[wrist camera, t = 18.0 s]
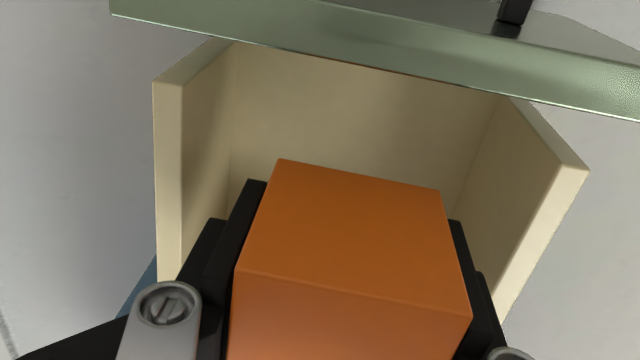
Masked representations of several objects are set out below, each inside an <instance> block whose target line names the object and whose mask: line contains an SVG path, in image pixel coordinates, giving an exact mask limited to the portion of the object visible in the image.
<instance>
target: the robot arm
mask: <svg viewBox="0 0 640 360" xmlns="http://www.w3.org/2000/svg"><path fill="white" fill-rule="evenodd" d="M266 187H267V182H265V181H260V180H255V179H250V178H248V179H247V181H246V183H245V185H244V187H243V189H242V191H241V193H240V195H239V197H238V199H237V202H236V204H235V206H234V208H233V210H232V212H231V214H230V216H229V218H228V220H223V219H218V218H213V217H211V218H209V219H208V221H207V222H206V224H205V226H204V228H203V230H202V231H201V233H200V235H199V237H198V239H197V241H196V242H195V244H194V246H193V248H192V250H191V252H190V253H189V255H188V257H187V259H186V261H185V263H184V264H183V266H182V268H181V270H180V272H179V274H178V275H177V277H176V279H175V280H169V281H161V282H158V283H154V284H152V285H150V286H148V287H146V288H144V289H143V290H142V291H141V292H140V293H139V294H138V295H137V296H136V298H135V300H134V302H133V303H132V307H131V310H130V313H129V314H127V315H124V316H122V317H119V318H117V319H114V320H112V321H109V322H106V323H104V324H101V325H99V326H96V327H94V328H91V329H89V330H86V331H83V332H81V333H78V334H76V335H73V336H71V337H68V338H66V339H63V340H60V341H58V342H55V343H53V344H50V345H48V346H45V347H43V348H40V349H38V350H35V351H32V352H30V353H27V354H25V355H23V356H21V357H20V358H18V359H16V360H225V359H226V349H227V339H228V329H229V319H230V309H231V298H232V288H233V278H234V269H235V266H236V264H237V261H238V259H239V256H240V254H241V251H242V248H243V246H244V243H245V241H246V238H247V236H248V233H249V231H250V228H251V225H252V223H253V220H254V218H255V215H256V213H257V210H258V207H259V205H260V202H261V200H262V197H263V195H264V192H265V190H266ZM447 220H448V224H449V227H450V231H451V235H452V239H453V242H454V246H455V250H456V253H457V257H458V261H459V265H460V268H461V272H462V276H463V279H464V283H465V287H466V291H467V294H468V298H469V302H470V305H471V309H472V313H473V319H472V321H471V323H470V325H469V327H468V329H467V331H466V333H465V335H464V336H463V338H462V340H461V342H460V344H459V346H458V348H457V350H456V352H455V354H454V356H453V358H452V360H535V359H534V358H532V357H531V356H530V355H528V354H526V353H524V352H522V351H520V350H518V349H515V348H511V347H508V346H507V343H506V340H505V337H504V334H503V331H502V328H501V325H500V322H499V319H498V316H497V313H496V310H495V307H494V304H493V301H492V298H491V295H490V292H489V289H488V286H487V283H486V280H485V277H484V275H483V273H482V272H480V271H476V270H475V267H474V264H473V260H472V257H471V254H470V251H469V247H468V244H467V241H466V238H465V235H464V231H463V228H462V225H461V222H460V221H458V220H453V219H448V218H447Z"/></svg>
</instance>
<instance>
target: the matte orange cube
mask: <svg viewBox="0 0 640 360" xmlns="http://www.w3.org/2000/svg"><path fill="white" fill-rule="evenodd" d="M472 319H473V313H472V309H471V305H470V302H469V298H468V294H467V291H466V287H465V283H464V279H463V276H462V272H461V268H460V265H459V261H458V257H457V253H456V250H455V246H454V242H453V239H452V235H451V231H450V227H449V224H448V220H447V216H446V213H445V209H444V205H443V201H442V198H441V194H440V191H439V190H436V189H431V188H426V187H421V186H416V185H412V184H407V183H402V182H397V181H392V180H387V179H382V178H377V177H372V176H367V175H362V174H357V173H352V172H347V171H342V170H337V169H332V168H327V167H322V166H318V165H313V164H308V163H303V162H298V161H293V160H288V159H283V158H278V160H277V161H276V164H275V167H274V169H273V172H272V174H271V177H270V179H269V182H268V184H267V187H266V190H265V192H264V195H263V197H262V200H261V202H260V205H259V207H258V210H257V213H256V215H255V218H254V220H253V223H252V225H251V228H250V231H249V233H248V236H247V238H246V241H245V243H244V246H243V248H242V251H241V254H240V256H239V259H238V261H237V264H236V266H235V269H234V278H233V288H232V298H231V309H230V319H229V329H228V339H227V349H226V359H225V360H452V358H453V356H454V354H455V352H456V350H457V348H458V346H459V344H460V342H461V340H462V338H463V336H464V335H465V333H466V331H467V329H468V327H469V325H470V323H471V321H472Z"/></svg>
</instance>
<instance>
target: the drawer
mask: <svg viewBox="0 0 640 360" xmlns="http://www.w3.org/2000/svg"><path fill="white" fill-rule="evenodd" d="M532 2H533V0H502V2H501V3H497V2H492V1H487V0H109V8H110V14H111V15H113V16H117V17H121V18H126V19H131V20H136V21H141V22H146V23H151V24H156V25H161V26H166V27H171V28H175V29H180V30H185V31H190V32H195V33H200V34H205V35H210V36H213V37H212V38H211V39H209V40H208V41H206V42H205V43H204V44H202V45H201V46H200V47H198V48H197V49H195V50H194V51H193V52H191V53H190V54H188V55H187V56H186V57H184V58H183V59H182V60H180V61H179V62H177V63H176V64H175V65H173V66H172V67H170V68H169V69H168V70H166V71H165V72H164V73H162V74H161V75H159V76H158V77H157V78H155V79H154V80H153V81H152V105H153V141H154V177H155V213H156V250H157V283H158V282H161V281H169V280H175V279H176V277H177V275H178V274H179V272H180V270H181V268H182V266H183V264H184V263H185V261H186V259H187V257H188V255H189V253H190V252H191V250H192V248H193V246H194V244H195V242H196V241H197V239H198V237H199V235H200V233H201V231H202V230H203V228H204V226H205V224H206V222H207V221H208V219H209V218H211V217H213V218H218V219H223V220H228V218H229V216H230V214H231V212H232V210H233V208H234V206H235V204H236V202H237V199H238V197H239V195H240V193H241V191H242V189H243V187H244V185H245V183H246V181H247V179H248V178H250V179H255V180H260V181H265V182H267V184H268V182H269V179H270V177H271V174H272V172H273V169H274V167H275V164H276V161H277V160H278V158H283V159H288V160H293V161H298V162H303V163H308V164H313V165H318V166H322V167H327V168H332V169H337V170H342V171H347V172H352V173H357V174H362V175H367V176H372V177H377V178H382V179H387V180H392V181H397V182H402V183H407V184H412V185H416V186H421V187H426V188H431V189H436V190H439V191H440V194H441V198H442V201H443V205H444V209H445V213H446V216H447V218H448V219H453V220H458V221H460V222H461V225H462V228H463V231H464V235H465V238H466V241H467V244H468V247H469V251H470V254H471V257H472V260H473V264H474V267H475V270H476V271H480V272H482V273H483V275H484V277H485V280H486V283H487V286H488V289H489V292H490V295H491V298H492V301H493V304H494V307H495V310H496V313H497V316H498V319H499V322H500V325H501V324H502V323H503V321H504V319H505V317H506V316H507V314H508V312H509V311H510V309H511V307H512V305H513V304H514V302H515V300H516V299H517V297H518V295H519V293H520V292H521V290H522V288H523V286H524V285H525V283H526V281H527V280H528V278H529V276H530V274H531V273H532V271H533V269H534V268H535V266H536V264H537V262H538V261H539V259H540V257H541V255H542V254H543V252H544V250H545V249H546V247H547V245H548V243H549V242H550V240H551V238H552V237H553V235H554V233H555V231H556V230H557V228H558V226H559V224H560V223H561V221H562V219H563V218H564V216H565V214H566V212H567V211H568V209H569V207H570V206H571V204H572V202H573V200H574V199H575V197H576V195H577V193H578V192H579V190H580V188H581V187H582V185H583V183H584V181H585V180H586V178H587V176H588V174H589V173H590V169H589V168H588V166H587V165H586V164H585V163H584V162H583V161H582V160H581V159H580V158H579V156H578V155H577V154H576V153H575V152H574V151H573V150H572V149H571V148H570V146H569V145H568V144H567V143H566V142H565V141H564V140H563V139H562V138H561V136H560V135H559V134H558V133H557V132H556V131H555V130H554V129H553V128H552V126H551V125H550V124H549V123H548V122H547V121H546V120H545V119H544V118H543V116H542V115H541V114H540V113H539V112H538V111H537V110H536V109H535V108H534V106H533V105H532V104H531V103H530V102H529V101H534V102H538V103H543V104H548V105H553V106H558V107H563V108H568V109H573V110H578V111H583V112H588V113H592V114H597V115H602V116H607V117H612V118H617V119H622V120H627V121H632V122H637V123H640V51H638V50H636V49H634V48H632V47H630V46H628V45H625V44H623V43H621V42H619V41H617V40H615V39H613V38H611V37H608V36H606V35H604V34H602V33H600V32H598V31H596V30H594V29H591V28H589V27H587V26H585V25H583V24H581V23H579V22H576V21H574V20H572V19H570V18H568V17H565V16H560V15H555V14H550V13H546V12H541V11H536V10H531V9H530V7H531V5H532ZM528 100H529V101H528Z"/></svg>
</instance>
